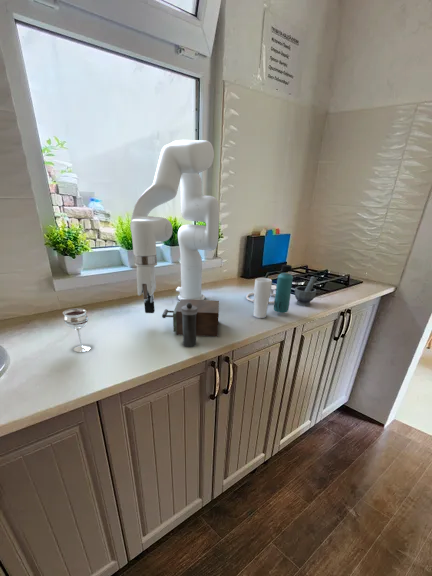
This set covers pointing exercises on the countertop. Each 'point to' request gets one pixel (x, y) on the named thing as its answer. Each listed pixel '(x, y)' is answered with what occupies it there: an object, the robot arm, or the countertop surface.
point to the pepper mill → (189, 325)
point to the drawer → (172, 316)
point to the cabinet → (201, 317)
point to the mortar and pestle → (305, 293)
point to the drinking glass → (261, 296)
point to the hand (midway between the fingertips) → (149, 312)
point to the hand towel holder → (270, 295)
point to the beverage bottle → (283, 290)
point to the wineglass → (77, 324)
